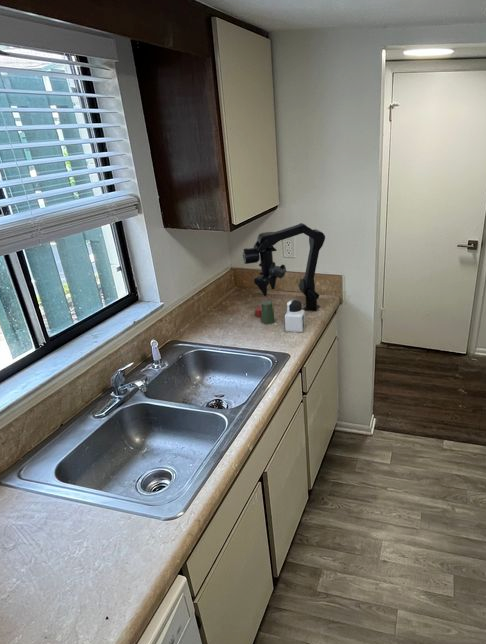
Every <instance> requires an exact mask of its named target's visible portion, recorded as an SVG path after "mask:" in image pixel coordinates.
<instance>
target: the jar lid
mask: <svg viewBox="0 0 486 644" xmlns="http://www.w3.org/2000/svg"><path fill="white" fill-rule="evenodd" d="M261 308H262V305H259V306H256V307H255V308H254V312H255V317H258V318H262V314H261Z"/></svg>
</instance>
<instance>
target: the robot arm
mask: <svg viewBox="0 0 486 644" xmlns="http://www.w3.org/2000/svg"><path fill="white" fill-rule="evenodd" d="M302 234H304V235H306V236H307V237H308V245H309V251H308V256H307V262H306V268H305V272H304V277H303V278H299V283H298V289H299V292H301V293H302V295H304V297H305V298H304V300H305V306H304V308H303V310H305V311H310V312H311V311H312V312H316V311H317V310H318V309H319V308H320V305H319V304H318V300H319V298H320V294H319V292H317V291H316V283H315V275H316V270H317V264H318V259H319V254H320V250H321V249H322V247H323V246H324V243H325V240H326V235H325V234H324V233H323V232H322V231H321V230H319V229H316V228H314V229H313V228H311V227H309V226H308V225H306V224H305V223H302V222H300V223H298V224H296V225H293V226H290V227H286V228H283V229H280V230H277V231H266V232H260V233H259V234H258V236H257V240H256V242H255V243H254V245H253V247H249V248H248V247H247V248H243V252H242V260H243V263H244V264H245V265H248V264H257V263H259V262H260V263H259V264H258V266H259V267H260V271H259V275H258V276H256V277H254V279H253V285H256V286H257V288H258V289H259V290H260V292H261V293H262V295H263V297H267V296H268V286H269V285H270V288H271V290H275V288H276V283H277V278H278V279H283V278H284V277H285V275H286V272H287V267H286V264H283V263H282V264H281V265H276V262H275V261H274V256H273V252H277V248H276V247H275V245H276V244H277V243H278V242H280V241H284V240H286V239H290V238H292V237H296V236H299V235H302Z"/></svg>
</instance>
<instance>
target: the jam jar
mask: <svg viewBox="0 0 486 644" xmlns="http://www.w3.org/2000/svg"><path fill="white" fill-rule="evenodd" d="M260 306H262V308H261V314H262V317H261V322H262V324H263V325H270V324H273V323H275V309H274V305H273V302H272V301H271V300H263V301H262V302H261V304H260Z"/></svg>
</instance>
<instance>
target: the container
mask: <svg viewBox="0 0 486 644" xmlns="http://www.w3.org/2000/svg"><path fill="white" fill-rule="evenodd" d="M305 326H306V310H304V309H303V305H302V302H301V301H300V300H297V299H293V300H292V299H291V300H289V301H287V303H286V313H285V315H284V329H285V330H284V331H285V332H290V333H291V332H292V333H303V331H304V329H305Z"/></svg>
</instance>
